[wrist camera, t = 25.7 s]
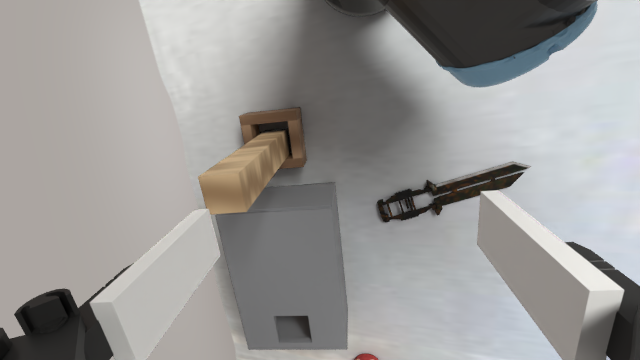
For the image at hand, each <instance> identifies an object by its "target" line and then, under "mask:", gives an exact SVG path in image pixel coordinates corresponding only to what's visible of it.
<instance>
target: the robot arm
mask: <svg viewBox="0 0 640 360" xmlns="http://www.w3.org/2000/svg"><path fill="white" fill-rule="evenodd" d="M325 1H326V2H327V3H328V4H329V5H330V6H332V7H333V8H334V9H336V10H338V11H340V12H342V13H344V14H348V15H352V16H368V15H372V14H376V13H379V12H381V11H383V10H385V9H386V10H387V11H388V12H389V13H390V14H391V15H392V16H393V17H394V18H395V19H396V20H397V21H398V22H399V23H400V24H401V25H402V26H403V27H404V28H405V29H406V30H407V31H408V32H409V33H410V34H411V35H412V36H413V37H414V38H415V39H416V40H417V41H418V42H419V43H420V44H421V45H422V46H423V47H424V48H425V49H426V50H427V51H428V53H429V54H430V55H431V56H432V57H433V58H434V59H435V60H436V63H437V64H438V65H439V66H440V67H442V68H443V69H445V70H447V71H449V72H450V73H451V74H452V75H453V76H454V77H455V78H456V79H458V80H459V81H460V82H461V83H463V84H465V85H467V86H471V87H488V86H493V85H497V84H500V83H503V82H506V81H509V80H511V79H514V78H516V77H518V76H520V75H523V74H525V73H527V72H529V71H531V70H532V69H534V68H536V67H538V66H539V65H541V64H543V63H544V62H546V61H547V60H548V59H549V56H550V55H551V54H552V53H554V52H557V51H560V50H563V49H564V48H565V47H567V46H568V45H569V44H570V43H572V42H573V41H574V40H575V39H576V38H577V37H578V36H579V35H580V34H581V33H582V32H583V31H584V30H585V29H586V28H587V27H588V25H589V24H590V23H591V21H592V19H593V17H594V15H595V13H596V11H597V0H325ZM477 245H478V246H479V247H480V249H481V250H482V251H483V253H484V254H485V255H486V257H487V258H488V260H489V261H490V262H491V264H492V265H493V266H494V268H495V269H496V270H497V272H498V273H499V274H500V276H501V277H502V278H503V280H504V281H505V283H506V284H507V285H508V287H509V288H510V289H511V291H512V292H513V293H514V295H515V296H516V297H517V299H518V300H519V301H520V303H521V304H522V306H523V307H524V308H525V310H526V311H527V312H528V314H529V315H530V316H531V318H532V319H533V320H534V322H535V323H536V324H537V326H538V327H539V329H540V330H541V331H542V333H543V334H544V335H545V337H546V338H547V339H548V341H549V342H550V343H551V345H552V346H553V347H554V349H555V350H556V352H557V353H558V354H559V356H560V357H561V358H562V360H606V357H607V356H608V357H609V358H610V359H611V360H640V286H639V285H637V284H636V283H635V282H633V281H632V280H631V279H629V278H628V277H627V276H625V275H624V274H622V273H621V272H620V271H618V270H615V268H614V267H613V266H612V265H610V264H609V263H608V262H606V261H605V262H604V260H603V259H602V258H601V257H599V256H598V255H597V254H595V253H594V252H593V251H591V250H590V249H587V248H585V247H583V246H581V245H578V244H576V243H574V242H563V241H562V240H561V239H559V238H558V237H557V236H556V235H554V234H553V233H552V232H551V231H549V230H548V229H547V228H546V227H544V226H543V225H542V224H541V223H539V222H538V221H537V220H535V219H534V218H533V217H532V216H530V215H529V214H528V213H527V212H525V211H524V210H523V209H522V208H520V207H519V206H518V205H517V204H515V203H514V202H513V201H512V200H510V199H509V198H508V197H507V196H505V195H504V194H503V193H501V192H500V191H499V190H495V191H481V194H480V209H479V223H478V237H477ZM219 257H220V251H219V247H218V243H217V239H216V235H215V231H214V227H213V223H212V219H211V216H210V212H209V209H197V210H194V211H193V212H191V214H189V215H188V216H187V217H186V218H185V219H184V220H183V221H182V222H180V223H179V224H178V225H177V226H176V227H175V228H173V229H172V230H171V231H170V232H169V233H168V234H167V235H165V236H164V237H163V238H162V239H161V240H160V241H159V242H158V243H156V244H155V245H154V246H153V247H152V248H151V249H150V250H148V251H147V252H146V253H145V254H144V255H143V256H142V257H141V258H139V259H138V260H137V261H136V262H135V263H133V264H132V265H130V266H128V267H126V268H125V269H123V270H122V271H121V272H120V273H119V274H117V275H116V276H115V277H114V279H112V280H110V281H109V282H108V283H107V284H106V286H105V287H102V288H101V289H100V290H99V291H98V292H97V293H95V294H94V295H93V296H92V297H91V298H90V299H89V300H87V301H86V302H85V303H84V304H83V305H82V306H80V307H79V308H78V307H77V305H76V303H75V301H74V299H73V297H72V295H71V292H70V290H68V289H56V290H53V291H50V292H46V293H44V294H42V295H39V296H37V297H35V298H33V299H32V300H30V301H28V302H26V303H25V304H24V305H23V306H21V307H20V308H19V309H18V310H17V311H16V313H15V314H14V315H15V317H16V318H17V320H18V322H19V324H20V325H21V327H22V329H23V331H24V333H25V335H24V336H19V337H15V338H11V339H9V338H8V336H7V334H6V333H5V331H4V329H3V328H0V360H109V359H110V358H111V357H112V356H113V357H114V359H115V360H147V358H148V357H149V355H150V354H151V352H152V351H153V350H154V348H155V347H156V345H157V344H158V343H159V341H160V340H161V338H162V337H163V336H164V334H165V333H166V331H167V330H168V329H169V327H170V326H171V324H172V323H173V321H174V320H175V319H176V317H177V316H178V314H179V313H180V312H181V310H182V309H183V307H184V306H185V305H186V303H187V302H188V300H189V299H190V298H191V296H192V295H193V293H194V292H195V290H196V289H197V287H198V286H199V285H200V283H201V282H202V280H203V279H204V278H205V276H206V275H207V274H208V272H209V271H210V269H211V268H212V266H213V265H214V264H215V262H216V261H217V259H218V258H219Z"/></svg>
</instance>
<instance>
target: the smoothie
mask: <svg viewBox="0 0 640 360" xmlns="http://www.w3.org/2000/svg"><path fill="white" fill-rule="evenodd" d="M354 360H378V359H377V358H376V357H375V356H373V355H371V354H361V355H359V356H357V357H356V358H355V359H354Z"/></svg>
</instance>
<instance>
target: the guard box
mask: <svg viewBox="0 0 640 360" xmlns="http://www.w3.org/2000/svg"><path fill="white" fill-rule="evenodd" d="M216 220H217V224H218V228H219V232H220V236H221V240H222V244H223V248H224V252H225V257H226V261H227V265H228V269H229V273H230V277H231V281H232V285H233V289H234V293H235V297H236V301H237V305H238V309H239V313H240V317H241V321H242V325H243V329H244V333H245V337H246V341H247V345H248V349H249V350H254V349H347V324H348V307H347V297H346V287H345V277H344V267H343V257H342V247H341V237H340V227H339V217H338V207H337V197H336V187H335V182H334V183H320V184H307V185H293V186H279V187H265V188H264V189H263V190H262V192H261V193H260V194H259V196H258V197H257V198H256V200H255V201H254V203H253V204H252V205H251V207H250V208H249V209H248V211H247V212H238V213H224V214H216Z"/></svg>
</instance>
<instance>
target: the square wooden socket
mask: <svg viewBox="0 0 640 360" xmlns="http://www.w3.org/2000/svg"><path fill="white" fill-rule="evenodd" d="M239 118H240V123H241V129H242V134H243V139H244V144H246V143H248V142H249V141H251V140H252V139H254V138H255V137H257V136H258V135H260V132H259V126H258V124H263V123H273V122H283V121H288V127H289V134H290V141H291V148H292V153H290V154H289V155H288V157H287V158H286V159H285V161H284V162H283V163H282V165H281V166H280V167H279V169H283V168H295V167H304V165H305V163H306V161H307V158H306V150H305V142H304V135H303V127H302V119H301V111H300V107H298V108H289V109H279V110H269V111H260V112H250V113H246V114H243V115H241V116H239Z"/></svg>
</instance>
